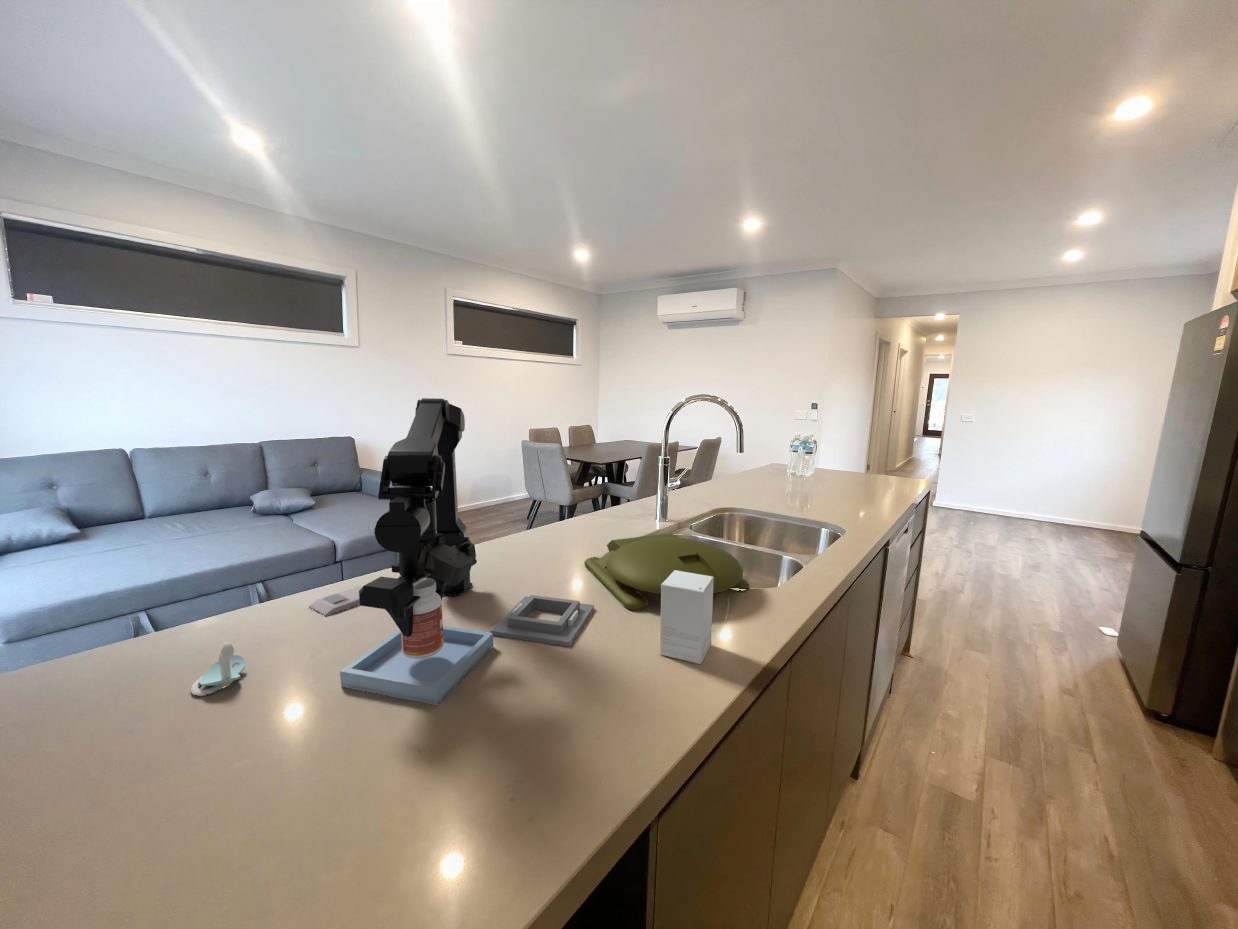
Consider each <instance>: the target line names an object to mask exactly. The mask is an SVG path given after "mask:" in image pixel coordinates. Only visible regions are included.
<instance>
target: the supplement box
mask: <svg viewBox="0 0 1238 929" xmlns="http://www.w3.org/2000/svg"><path fill="white" fill-rule="evenodd" d="M713 581H714V577H713V576H706V575H700V574H694V573H688V572H683V571H677V570H674V571H673V572H672V574H671V575H670V576H669V577H668V578H667V579H666V580H665V581H664V582H663V583H662V584H661V594H660V626H659V627H660V628H659V629H660V630H659V631H660V633H659V635H660V636H659V637H660V638H659V641H660V642H659V651H660V652H659V655H661V656H666V657H670V658H673V659H678V660H682V661H686V662H689V663H693V664H697V665H701V664H702V663H703V661H704V659H705V657H706V656H707V653H708V651H709V649H710V647H711V645H712V630H713V629H712V628H713V606H714V605H713V604H714V602H713V601H714V593H713Z"/></svg>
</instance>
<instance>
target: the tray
mask: <svg viewBox="0 0 1238 929" xmlns="http://www.w3.org/2000/svg"><path fill="white" fill-rule="evenodd" d="M443 639H444V644H443V647H442V649H441V650H440V651H439V652H437V653H436V654H434V655H432V656H430V657H427V658H422V659H413V658H408V657H406V656H404V655H403V653H402V647H401V632H400V629H399V628H398V630H396V631H395V632H393V633H392V634H391V635H389V636H388V637H387V638H385V639H384V640H382V641H381V642H379V643H377V645H375V646H374V647H372V648H371V649H369V650H367V651H366V652H365V653H364V654H362V655H361V656H359V657H358V658H357V659H355V660H354V661H352V662H351V663H349V664H348V665H347V666H345V667H344V668H343V669H341V670H340V671H339V674H340V675H339V677H340V687H341V688H344V687H345V689H350V688H352V689H351V690H355V689H357V690H356V691H360V690H364V691H363V692H365V691H367V693H371V694H376V693H378V694H377V695H381V694H382V695H383V696H386V695H387V697H392V698H398V699H403V700H408V701H413V702H418V703H423V704H429V705H433V706H434V705H435V706H439V705H440V703H441V702H442V701H443V700H444V699H445V698H446V697H447V696H448V695H449V693H451V692H452V691H453V689H455V688H456V686H457V685H458V684H460V683H461V681H462V680H464V678H465V677H466V676H467V675H468V674H469V673H470V672H471V671H472V670H473V669H474V668H475V667H476V666H477V665H478V663H480V661H481V660H482V659H483V658H484V657H485V656H486V655H487V654H488V653H489V652H490V651H491V650H492V649H493V648H494V635H493V633H490V631H489V632H488V631H480V630H474V629H468V628H461V627H455V626H447V625H443ZM382 695H381V696H382Z"/></svg>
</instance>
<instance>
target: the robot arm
mask: <svg viewBox="0 0 1238 929" xmlns="http://www.w3.org/2000/svg"><path fill="white" fill-rule="evenodd" d="M465 420H466V419H465V414H464V411H463V410H462V408H461V407H458V406H456V405H454V404H451V403H450V402H449V401H448V399H444V398H434V397H433V398H431V397H430V398H428V397H427V398H426V397H424V398H421V399H418V400H417V402H416V407H415V414H414V418H413V420H412V422H411V425H410V428H409V430H408V433H407V436H406V437H405V438H403V439H400V440H398V441H396V442H395V443H394V444H392V446H391V448H390V449H389V451H388V452H387V455H385V456H384V458H383V461H382V468H381V474H380V481H379V482H380V483H379V488H378V496H377V498H378V500H389V503H388V507H389V509H388V510H387V511H385V513H383V514H382V515H380V517H379V518H378V520H377V521H376V522H375V523H376V524H375V527H374V529H373V530H374V532H373V533H374V537H375V539H376V541H377V543H378V544H379V546H380V547H382V548H384V550H386V551H389V552H392V553H396V554H397V555H396V556H397V562H396V563H394V564H391V572H392V573H397V574H399V576H398V577H397V578H396V577H388V576H379V577H378V578H376V579H374V580H372V581H370V582H367V583H366V584H364V585H363V586H361V587H362V588H361V589H360V590H359V601H360V604H359V606H361V607H367V608H374V609H381V610H385V611H386V612H387V613H388V615H389V616H390V617H391V619H392V621H393V622H394V624H396V627H397V628H398V630H399V629H400V631H401V632H402V634H403V635H404V636H406V637H410V636H411V635H412V628H413V605H414V604H415V603H416V602H417V601H418V600H419V599H420V596H413V594H414V592H413V588H414V584H416V583H418V582H419V581H421V580H423V579H424V578H431V579H434V580H435V582H436V591H435V592H436V593H437V594H439V595H440V597H441V601H443V597H444V596H450V597H459V596H460V595H461V594H463V593H465V591H466V590H468V589H469V588H471V587H472V586H473V582H471V570H472V567H473V566H475V565H476V564H477V562H478V561H477V559H476V558H477V553H476V552H477V551H476V545H475V544H474V543H473V542H472V541H471V537H470V536H468V532H467V526H466V524H465V523H464V522H463V520H462V519H461V518H460V517H459V508H458V489H457V487H458V486H457V471H456V469H457V468H456V452H455V451H456V449H457V447H458V445H459V442H460V441H461V440H462V437H463V432H465V429H466V428H465V427H466V426H465V425H466V421H465ZM390 485H391V486H392V487H390Z"/></svg>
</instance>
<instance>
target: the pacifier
mask: <svg viewBox="0 0 1238 929" xmlns="http://www.w3.org/2000/svg"><path fill="white" fill-rule="evenodd" d="M234 652H235V647H234V645H233V644H232V643H231V642H229V641H225V642H224V643H223V644H222V647H221V650H220V654H219V657H218V660H217V661H216V662H214V664H212V665H211V666H210V667H209V668H208V669H207V670H206V672H204V673H203V675H201V676H200V677H199V678H198V679H196V681H194V682H193V683H192V685H191V688H190V693H191V694H192V695H193V696H195V695H197V696H196V697H202V696H203V697H204V696H207V694H208V695H210V694H213V693H215V692H216V691H219V690H221V689H220V688H222V687H224V686H228V685H229V684H230V683H231V682H233V681H234V682H235V681H237V680H239V679H240V678H241V673H242V672H243V670H245V668H246V660H245V658H244V657H242V656H240V655H237V654H234ZM236 665H237V666H236ZM235 666H236V667H235ZM234 682H233V683H234ZM199 685H200V686H203V687H204V686H205V687H207V686H212V687H210V688H206V689H202V688H200V686H199ZM229 686H230V685H229ZM229 686H228V687H229ZM198 687H199V688H198Z"/></svg>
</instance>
